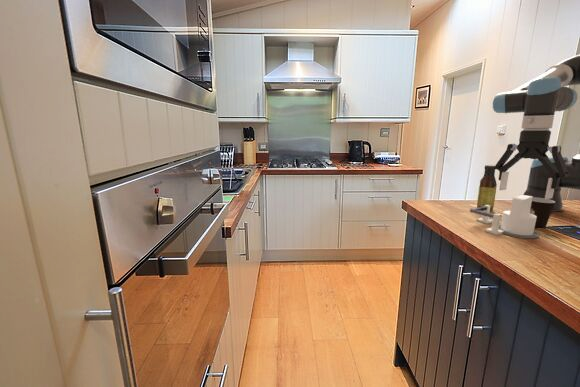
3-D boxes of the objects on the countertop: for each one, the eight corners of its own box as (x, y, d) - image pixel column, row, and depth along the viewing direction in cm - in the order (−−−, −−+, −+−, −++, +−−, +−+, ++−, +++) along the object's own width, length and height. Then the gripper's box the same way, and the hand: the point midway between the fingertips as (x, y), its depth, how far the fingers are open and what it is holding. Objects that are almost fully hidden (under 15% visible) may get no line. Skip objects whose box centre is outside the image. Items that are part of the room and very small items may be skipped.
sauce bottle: (496, 211, 123) (504, 166, 119) (481, 211, 123) (489, 166, 119) (486, 207, 129) (493, 164, 125) (472, 207, 130) (479, 164, 125)
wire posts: (474, 218, 113) (477, 203, 112) (491, 220, 111) (493, 204, 110) (486, 233, 97) (490, 215, 95) (506, 236, 95) (510, 217, 93)
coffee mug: (555, 230, 100) (561, 203, 98) (527, 228, 102) (533, 202, 100) (534, 220, 111) (539, 196, 109) (510, 219, 113) (514, 194, 111)
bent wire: (485, 208, 109) (485, 206, 109) (512, 215, 101) (513, 212, 100) (469, 211, 105) (469, 208, 105) (495, 218, 97) (496, 215, 97)
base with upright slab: (506, 224, 104) (512, 193, 102) (537, 231, 97) (544, 198, 94) (496, 229, 99) (501, 196, 97) (527, 237, 92) (535, 201, 89)
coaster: (507, 224, 106) (508, 223, 106) (546, 235, 95) (546, 234, 95) (487, 229, 101) (487, 227, 101) (525, 241, 91) (525, 239, 90)
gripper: (488, 129, 100) (479, 187, 105) (581, 130, 78) (564, 203, 83) (501, 129, 103) (492, 186, 108) (594, 129, 81) (578, 200, 86)
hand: (524, 193), depth 95 cm, fingers open, 13 cm apart
